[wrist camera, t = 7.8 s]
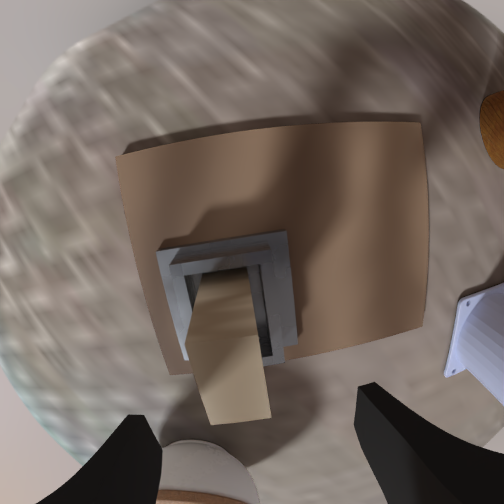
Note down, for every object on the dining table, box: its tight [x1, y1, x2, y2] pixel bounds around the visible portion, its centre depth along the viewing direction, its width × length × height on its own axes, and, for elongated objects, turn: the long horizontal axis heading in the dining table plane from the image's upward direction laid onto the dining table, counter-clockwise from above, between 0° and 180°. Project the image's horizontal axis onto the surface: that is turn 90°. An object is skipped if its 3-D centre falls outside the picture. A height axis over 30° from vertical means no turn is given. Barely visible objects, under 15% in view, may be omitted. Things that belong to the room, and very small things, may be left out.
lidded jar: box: [156, 439, 260, 504], centre depth 18 cm, size 11×11×9 cm
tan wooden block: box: [184, 267, 272, 425], centre depth 13 cm, size 2×4×7 cm, turn 8°
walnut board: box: [116, 122, 429, 375], centre depth 17 cm, size 18×14×1 cm
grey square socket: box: [156, 229, 298, 366], centre depth 16 cm, size 7×7×3 cm
